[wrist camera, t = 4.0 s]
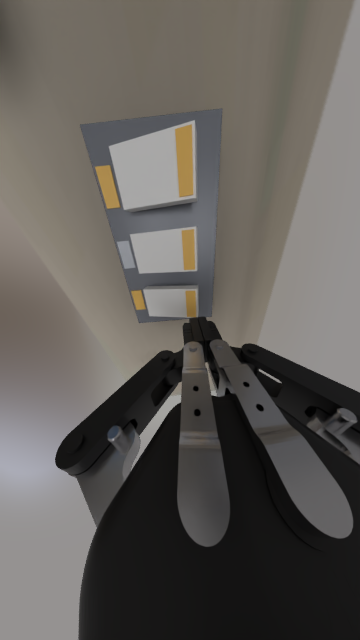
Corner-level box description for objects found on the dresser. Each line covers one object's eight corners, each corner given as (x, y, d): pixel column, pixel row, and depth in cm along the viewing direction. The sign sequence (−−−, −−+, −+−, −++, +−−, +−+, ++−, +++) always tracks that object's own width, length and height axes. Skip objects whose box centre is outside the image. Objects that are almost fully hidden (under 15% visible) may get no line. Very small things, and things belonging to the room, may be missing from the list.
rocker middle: (136, 234, 15) (129, 234, 14) (197, 227, 13) (196, 226, 12) (144, 271, 17) (138, 273, 16) (198, 268, 15) (196, 271, 14)
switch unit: (98, 146, 13) (74, 117, 10) (213, 134, 13) (225, 100, 10) (142, 314, 24) (137, 325, 21) (207, 308, 24) (212, 318, 21)
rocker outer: (147, 286, 18) (142, 289, 17) (198, 285, 16) (197, 289, 15) (153, 311, 20) (149, 316, 19) (198, 312, 18) (197, 318, 17)
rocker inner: (119, 155, 12) (107, 145, 10) (196, 133, 10) (194, 118, 9) (131, 212, 14) (123, 209, 12) (197, 201, 12) (195, 197, 11)
